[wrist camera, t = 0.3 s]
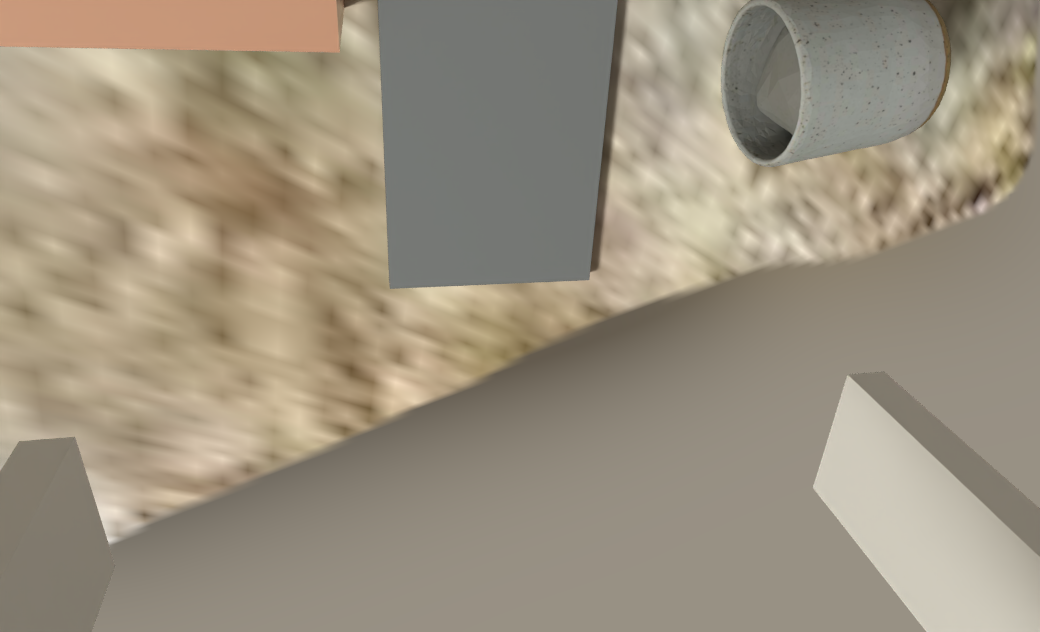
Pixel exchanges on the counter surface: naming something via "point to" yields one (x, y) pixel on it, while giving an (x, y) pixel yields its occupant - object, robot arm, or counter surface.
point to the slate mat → (493, 137)
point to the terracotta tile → (174, 24)
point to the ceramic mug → (831, 75)
